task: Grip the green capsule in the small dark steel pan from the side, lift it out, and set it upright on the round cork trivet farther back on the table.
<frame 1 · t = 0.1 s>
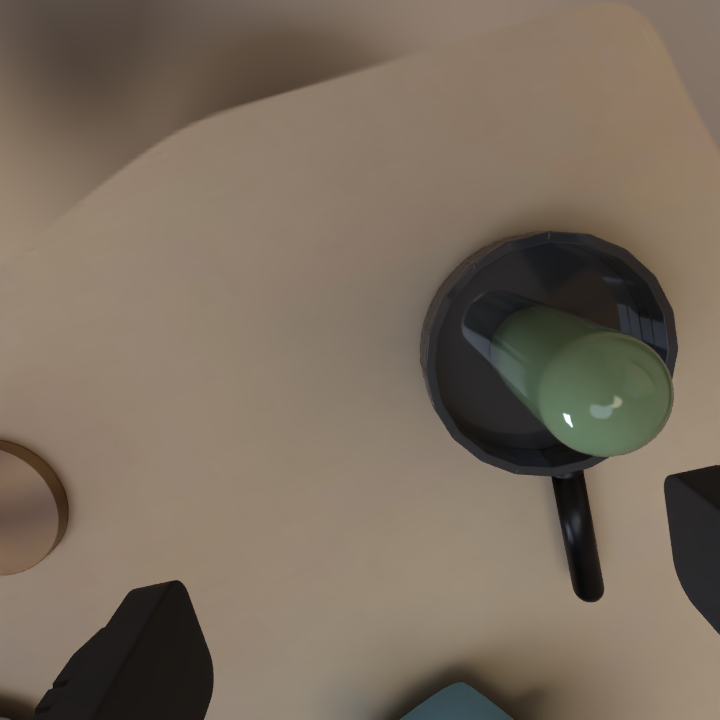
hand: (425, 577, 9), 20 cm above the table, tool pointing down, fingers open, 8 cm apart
green capsule: (535, 350, 28), point 1 cm above the table, touching steel pan
pan handle: (577, 530, 29), point 2 cm above the table
steel pan: (531, 348, 29), on the table
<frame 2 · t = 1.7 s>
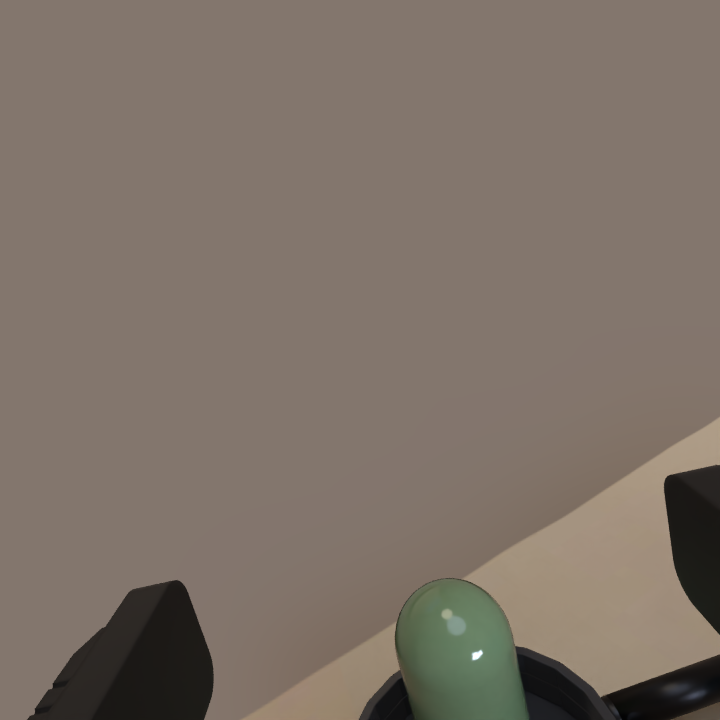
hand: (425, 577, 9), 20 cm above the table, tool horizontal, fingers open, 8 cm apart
pan handle: (684, 690, 24), point 2 cm above the table
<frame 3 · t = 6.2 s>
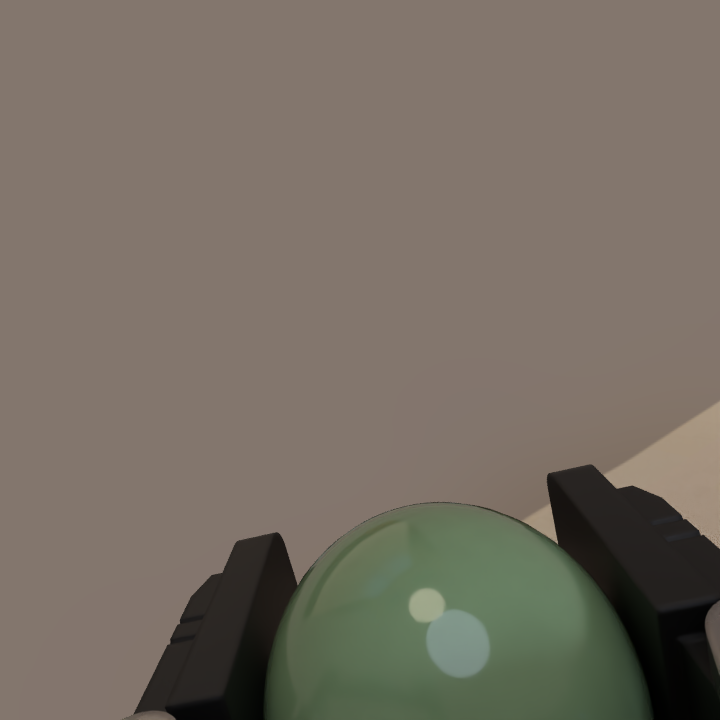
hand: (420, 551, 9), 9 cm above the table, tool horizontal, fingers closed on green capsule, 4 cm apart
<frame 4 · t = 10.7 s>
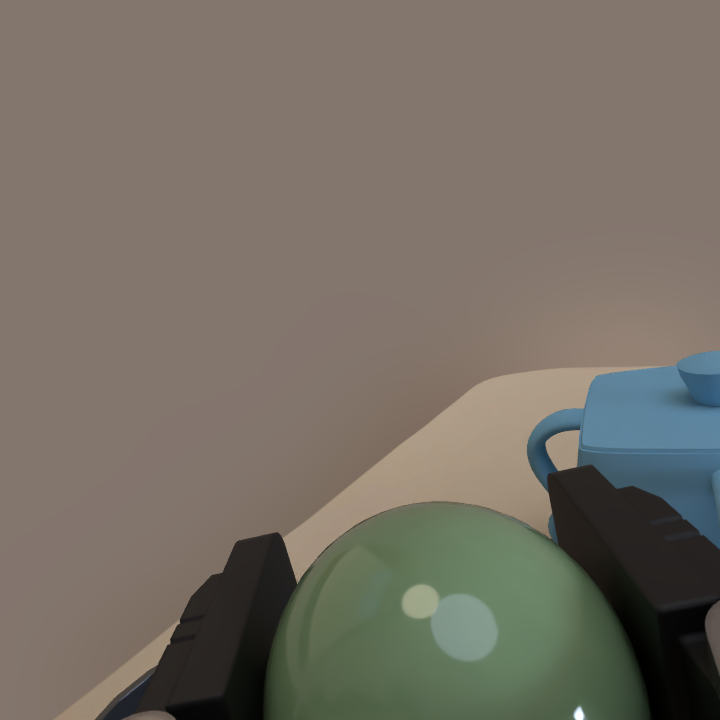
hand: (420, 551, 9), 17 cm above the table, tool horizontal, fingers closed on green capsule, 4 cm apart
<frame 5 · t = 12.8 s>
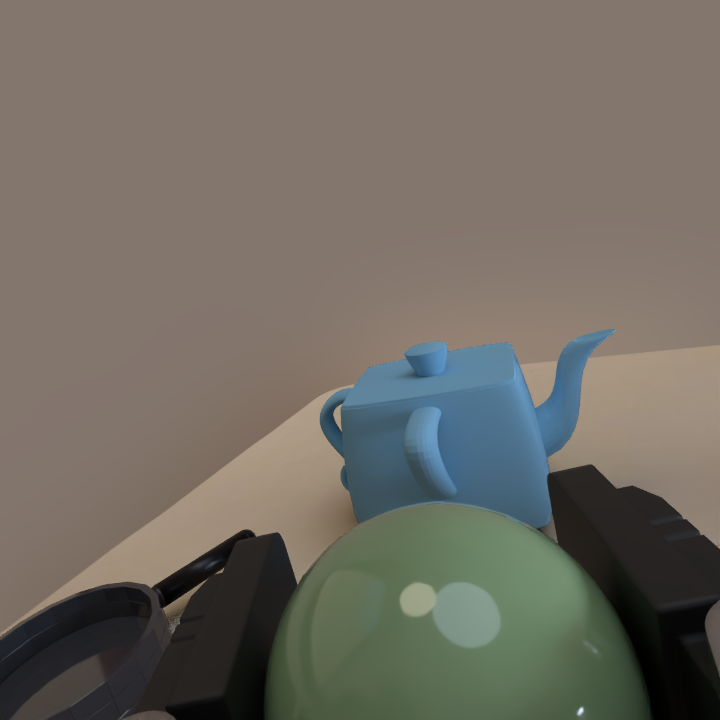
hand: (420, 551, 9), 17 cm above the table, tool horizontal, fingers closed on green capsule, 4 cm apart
pan handle: (205, 566, 39), point 2 cm above the table
teapot: (483, 510, 41), on the table
steel pan: (75, 688, 33), on the table
when the fingers open (9 cm above the table, at t = 15.1 s): green capsule stays where it is, resting on trivet.
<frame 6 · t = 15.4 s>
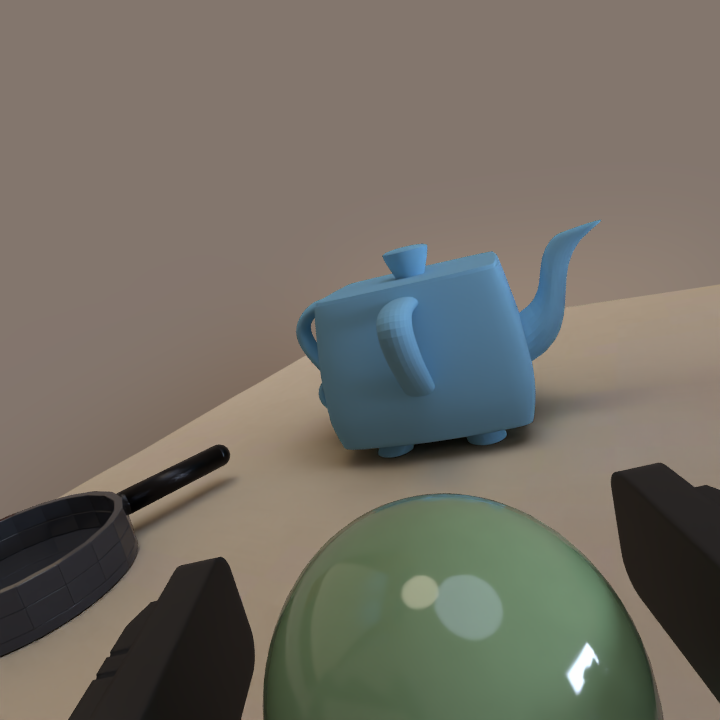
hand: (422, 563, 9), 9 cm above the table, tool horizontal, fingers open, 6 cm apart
pan handle: (174, 477, 37), point 2 cm above the table
teapot: (466, 424, 40), on the table
steel pan: (32, 589, 31), on the table
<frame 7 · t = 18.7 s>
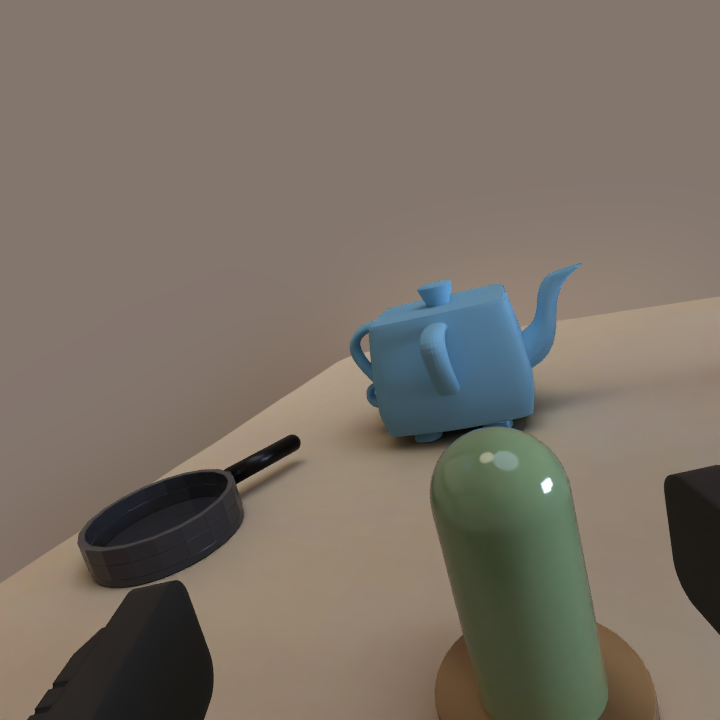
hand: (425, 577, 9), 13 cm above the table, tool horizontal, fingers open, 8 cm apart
green capsule: (540, 683, 20), point 1 cm above the table, touching trivet
pan handle: (262, 459, 49), point 2 cm above the table
teapot: (482, 417, 51), on the table
steel pan: (171, 538, 43), on the table
trivet: (542, 703, 21), on the table
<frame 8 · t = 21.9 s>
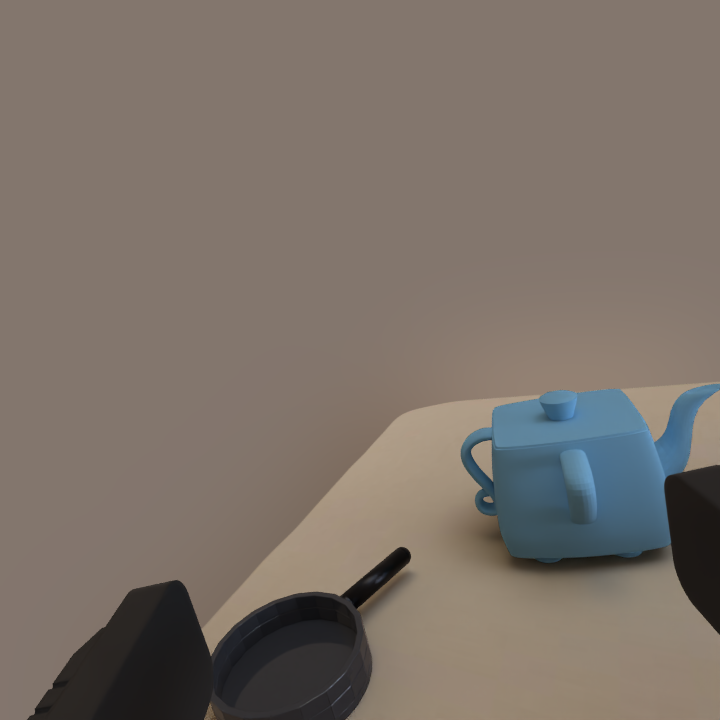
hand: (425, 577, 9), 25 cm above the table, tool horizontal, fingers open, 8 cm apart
pan handle: (376, 578, 47), point 2 cm above the table
teapot: (599, 530, 49), on the table
steel pan: (295, 678, 41), on the table
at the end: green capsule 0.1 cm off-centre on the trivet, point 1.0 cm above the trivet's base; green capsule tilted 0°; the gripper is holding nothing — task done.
